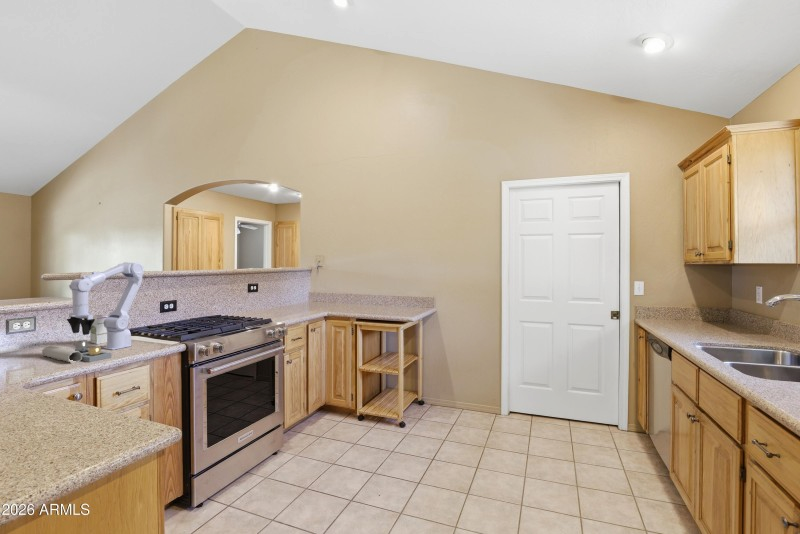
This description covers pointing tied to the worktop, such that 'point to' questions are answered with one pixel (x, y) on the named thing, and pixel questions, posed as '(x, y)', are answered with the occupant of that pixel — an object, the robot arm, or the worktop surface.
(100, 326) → the syrup box
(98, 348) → the seated bushing
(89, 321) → the robot arm
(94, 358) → the jig
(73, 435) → the worktop surface
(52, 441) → the worktop surface
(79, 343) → the cylinder
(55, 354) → the tube
